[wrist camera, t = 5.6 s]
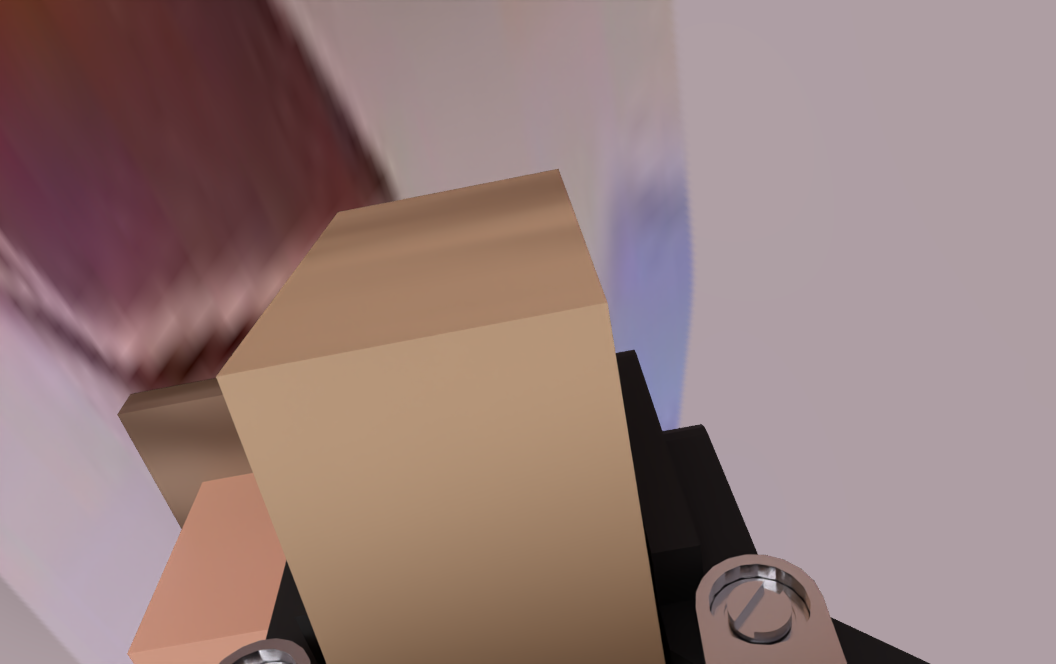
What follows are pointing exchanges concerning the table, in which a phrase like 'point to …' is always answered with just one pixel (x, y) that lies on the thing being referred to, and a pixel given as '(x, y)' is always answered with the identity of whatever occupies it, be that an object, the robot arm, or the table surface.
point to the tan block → (450, 437)
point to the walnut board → (184, 439)
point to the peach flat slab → (214, 579)
